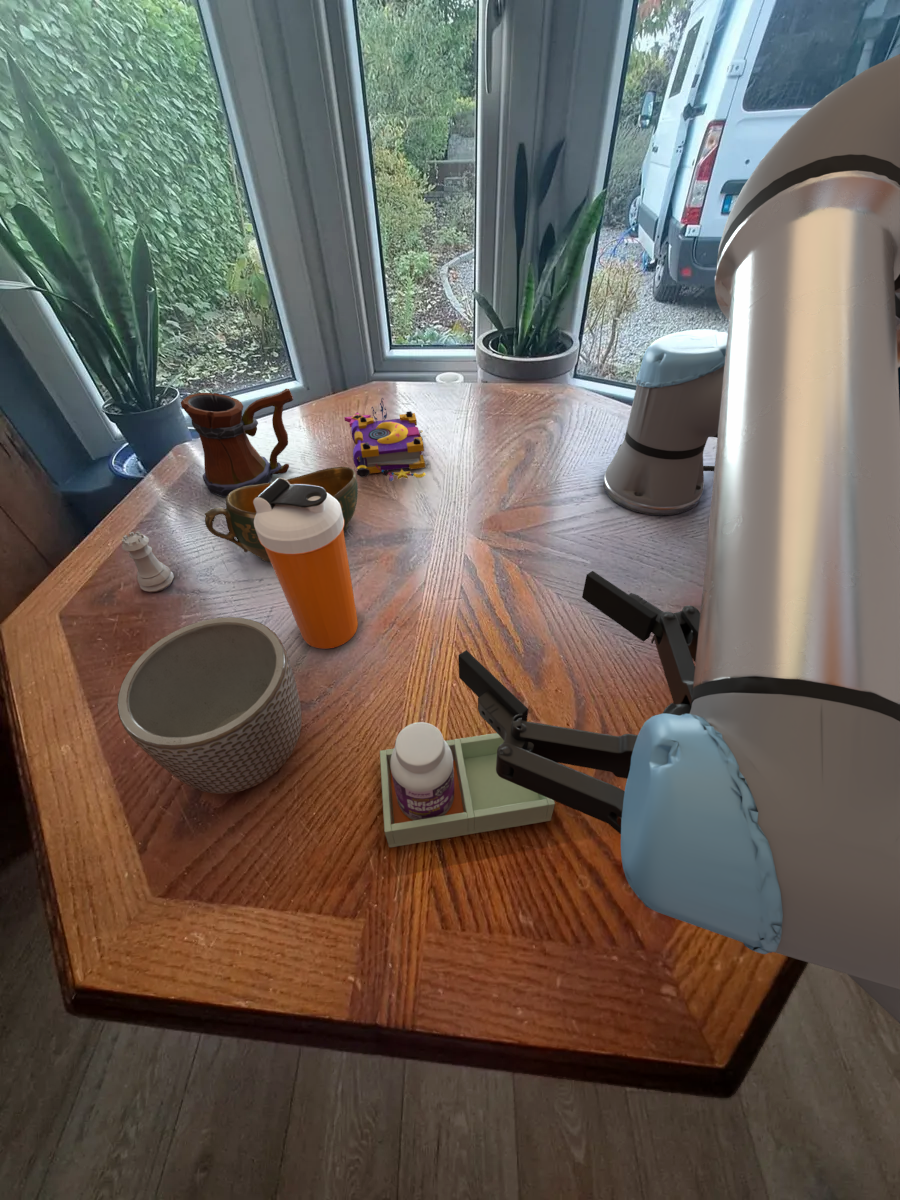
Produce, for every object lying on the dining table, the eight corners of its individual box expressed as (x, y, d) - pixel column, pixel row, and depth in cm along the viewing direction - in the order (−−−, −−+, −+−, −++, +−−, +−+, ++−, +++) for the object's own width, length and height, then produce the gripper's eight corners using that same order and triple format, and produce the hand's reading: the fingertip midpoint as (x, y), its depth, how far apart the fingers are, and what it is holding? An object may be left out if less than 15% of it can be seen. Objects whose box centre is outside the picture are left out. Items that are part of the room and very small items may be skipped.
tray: (529, 745, 53) (531, 727, 50) (550, 820, 47) (555, 804, 45) (383, 768, 52) (379, 750, 49) (389, 847, 46) (384, 832, 44)
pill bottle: (412, 836, 46) (401, 785, 39) (389, 785, 50) (375, 731, 43) (465, 807, 48) (464, 754, 41) (439, 760, 51) (434, 704, 44)
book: (350, 494, 87) (337, 425, 79) (346, 426, 105) (335, 364, 96) (436, 483, 89) (432, 414, 80) (417, 419, 106) (413, 357, 98)
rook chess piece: (182, 577, 73) (158, 531, 68) (157, 597, 70) (130, 551, 65) (159, 569, 75) (133, 523, 69) (134, 588, 72) (105, 542, 66)
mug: (307, 453, 98) (287, 371, 87) (314, 484, 90) (293, 399, 79) (207, 470, 94) (173, 387, 84) (205, 504, 86) (168, 418, 76)
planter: (325, 794, 50) (291, 719, 41) (172, 838, 47) (100, 769, 38) (310, 682, 59) (281, 601, 50) (183, 713, 57) (127, 635, 48)
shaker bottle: (351, 660, 62) (316, 522, 48) (282, 650, 63) (227, 513, 49) (374, 607, 68) (349, 471, 54) (310, 599, 69) (269, 465, 55)
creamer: (236, 523, 82) (213, 466, 75) (363, 508, 84) (352, 451, 77) (224, 577, 73) (197, 518, 66) (367, 559, 75) (355, 499, 68)
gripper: (634, 1017, 27) (404, 732, 39) (859, 744, 37) (621, 587, 49) (673, 991, 22) (393, 671, 34) (923, 681, 32) (639, 523, 44)
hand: (528, 621), depth 42 cm, fingers open, 13 cm apart
